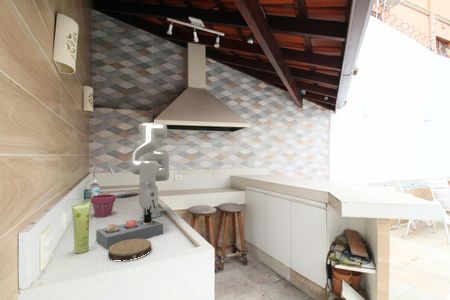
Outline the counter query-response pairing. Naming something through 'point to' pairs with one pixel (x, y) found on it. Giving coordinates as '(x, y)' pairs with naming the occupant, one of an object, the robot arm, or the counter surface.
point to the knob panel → (129, 233)
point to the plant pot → (103, 204)
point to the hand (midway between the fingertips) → (147, 222)
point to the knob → (112, 228)
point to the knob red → (130, 224)
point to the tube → (81, 226)
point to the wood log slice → (129, 249)
